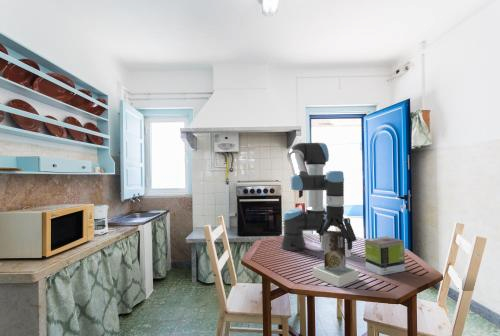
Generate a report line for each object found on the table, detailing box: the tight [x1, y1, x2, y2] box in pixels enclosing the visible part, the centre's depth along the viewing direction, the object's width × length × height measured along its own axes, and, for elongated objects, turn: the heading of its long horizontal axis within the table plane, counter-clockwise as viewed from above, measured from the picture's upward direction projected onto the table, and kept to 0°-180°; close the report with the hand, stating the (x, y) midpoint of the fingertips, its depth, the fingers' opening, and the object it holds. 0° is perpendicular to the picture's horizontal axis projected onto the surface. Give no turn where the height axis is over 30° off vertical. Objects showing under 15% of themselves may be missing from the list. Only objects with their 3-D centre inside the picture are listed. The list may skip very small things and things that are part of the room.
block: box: [312, 263, 360, 288], centre depth 123 cm, size 14×14×4 cm
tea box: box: [364, 236, 406, 276], centre depth 132 cm, size 15×10×15 cm
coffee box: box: [323, 230, 347, 271], centre depth 123 cm, size 9×6×16 cm
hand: (335, 253), depth 123 cm, fingers open, 13 cm apart
